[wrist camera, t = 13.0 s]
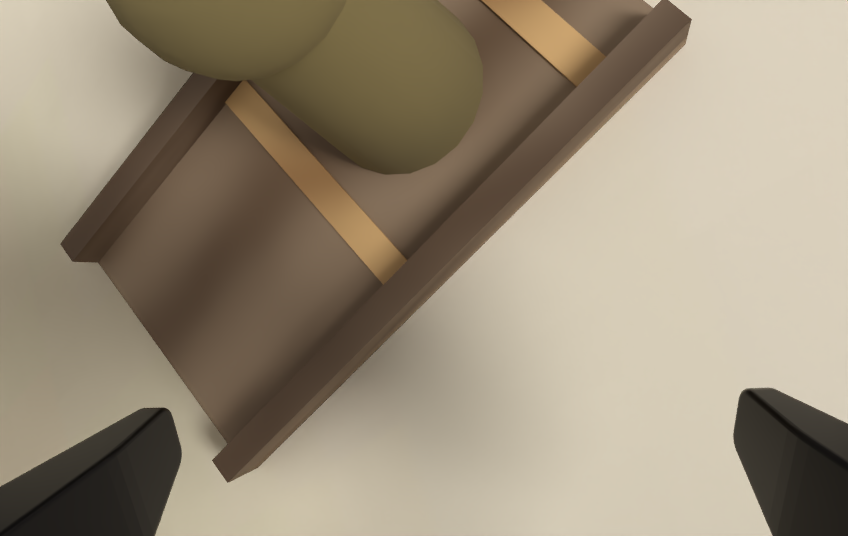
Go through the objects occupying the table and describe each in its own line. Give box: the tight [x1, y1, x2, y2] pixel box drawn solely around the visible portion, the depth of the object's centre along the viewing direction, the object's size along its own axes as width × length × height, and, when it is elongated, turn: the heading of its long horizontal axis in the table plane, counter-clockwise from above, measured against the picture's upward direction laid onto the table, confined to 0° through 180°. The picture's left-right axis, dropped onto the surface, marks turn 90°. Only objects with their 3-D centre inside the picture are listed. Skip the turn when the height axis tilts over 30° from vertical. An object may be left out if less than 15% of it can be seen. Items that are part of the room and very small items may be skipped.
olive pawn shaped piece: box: [106, 0, 483, 175], centre depth 15 cm, size 6×6×11 cm
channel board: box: [61, 0, 692, 483], centre depth 21 cm, size 12×21×2 cm, turn 133°
